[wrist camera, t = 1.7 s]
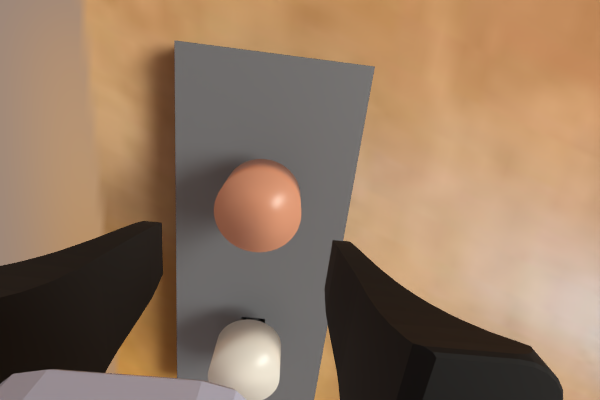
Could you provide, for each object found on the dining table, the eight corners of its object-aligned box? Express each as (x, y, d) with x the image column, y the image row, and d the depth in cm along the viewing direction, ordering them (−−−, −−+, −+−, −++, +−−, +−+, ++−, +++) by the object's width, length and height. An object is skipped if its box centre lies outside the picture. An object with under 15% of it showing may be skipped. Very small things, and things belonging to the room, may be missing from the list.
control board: (310, 379, 28) (312, 408, 25) (187, 370, 27) (177, 398, 25) (365, 67, 20) (374, 66, 17) (189, 44, 19) (174, 40, 17)
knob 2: (279, 344, 24) (276, 405, 20) (223, 339, 24) (206, 400, 20) (285, 297, 23) (283, 352, 18) (225, 292, 23) (208, 346, 18)
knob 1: (295, 216, 21) (296, 256, 16) (230, 210, 21) (212, 248, 16) (303, 153, 19) (306, 176, 15) (233, 145, 19) (215, 166, 15)
